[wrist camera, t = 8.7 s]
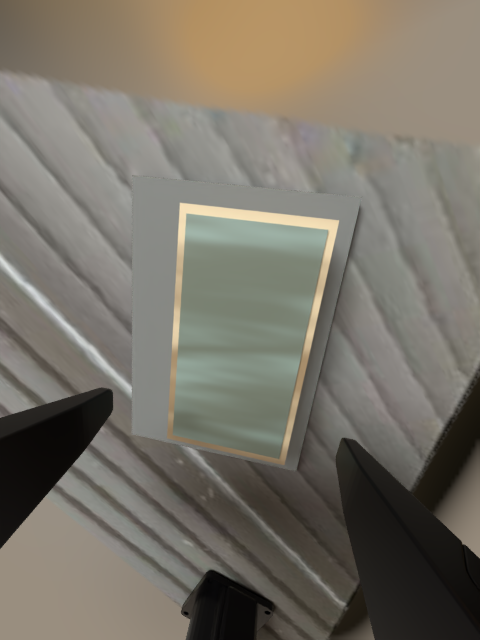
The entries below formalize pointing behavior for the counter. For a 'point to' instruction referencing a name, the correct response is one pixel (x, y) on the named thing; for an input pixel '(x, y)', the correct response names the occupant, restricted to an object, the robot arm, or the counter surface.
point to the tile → (244, 326)
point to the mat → (160, 277)
